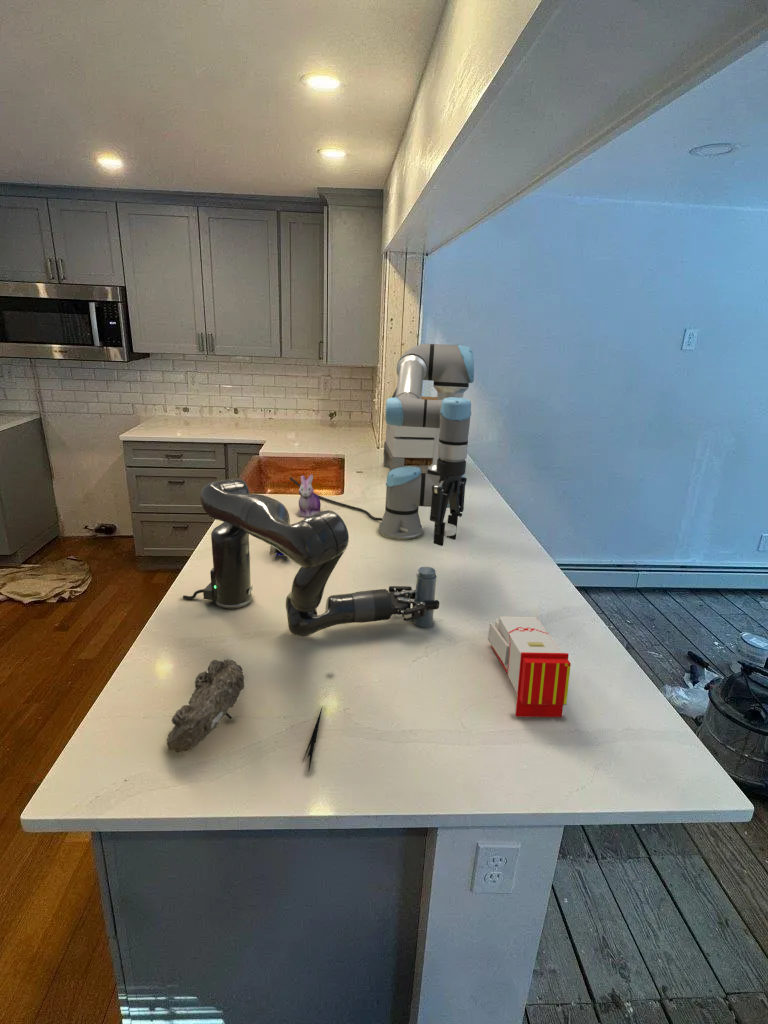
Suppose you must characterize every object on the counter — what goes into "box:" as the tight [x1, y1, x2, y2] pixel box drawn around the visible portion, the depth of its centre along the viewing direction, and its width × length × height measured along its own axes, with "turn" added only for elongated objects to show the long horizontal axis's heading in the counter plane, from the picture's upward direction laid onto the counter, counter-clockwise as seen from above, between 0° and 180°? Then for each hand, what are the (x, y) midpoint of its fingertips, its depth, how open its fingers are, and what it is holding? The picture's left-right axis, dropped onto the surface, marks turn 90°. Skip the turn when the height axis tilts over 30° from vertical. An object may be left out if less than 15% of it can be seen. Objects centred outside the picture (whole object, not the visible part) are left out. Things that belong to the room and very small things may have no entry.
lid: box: [444, 522, 458, 537], centre depth 154 cm, size 6×6×2 cm
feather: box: [301, 673, 332, 771], centre depth 108 cm, size 2×28×2 cm
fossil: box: [166, 658, 245, 754], centre depth 106 cm, size 22×10×15 cm
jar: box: [412, 566, 438, 628], centre depth 142 cm, size 5×5×15 cm
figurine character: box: [269, 545, 288, 560], centre depth 179 cm, size 7×8×15 cm
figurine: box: [298, 474, 322, 518], centre depth 213 cm, size 9×10×15 cm
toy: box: [487, 616, 572, 718], centre depth 123 cm, size 12×13×30 cm
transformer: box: [383, 387, 437, 472], centre depth 268 cm, size 34×33×41 cm
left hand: (434, 599), depth 143 cm, fingers closed on jar, 5 cm apart
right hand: (444, 541), depth 155 cm, fingers closed on lid, 6 cm apart
